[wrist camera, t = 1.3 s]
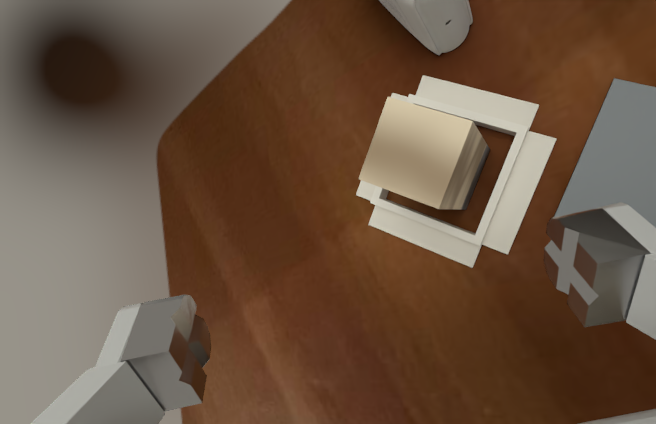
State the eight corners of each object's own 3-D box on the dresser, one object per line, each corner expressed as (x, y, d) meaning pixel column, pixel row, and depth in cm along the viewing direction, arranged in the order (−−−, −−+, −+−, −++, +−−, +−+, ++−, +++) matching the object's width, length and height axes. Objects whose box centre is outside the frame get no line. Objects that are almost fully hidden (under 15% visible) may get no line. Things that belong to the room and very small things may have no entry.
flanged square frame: (401, 70, 37) (395, 63, 35) (567, 113, 32) (569, 107, 30) (349, 216, 39) (340, 216, 37) (497, 278, 34) (496, 281, 32)
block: (429, 131, 36) (387, 96, 25) (490, 149, 34) (473, 120, 23) (408, 188, 37) (358, 178, 26) (466, 209, 35) (438, 209, 24)
